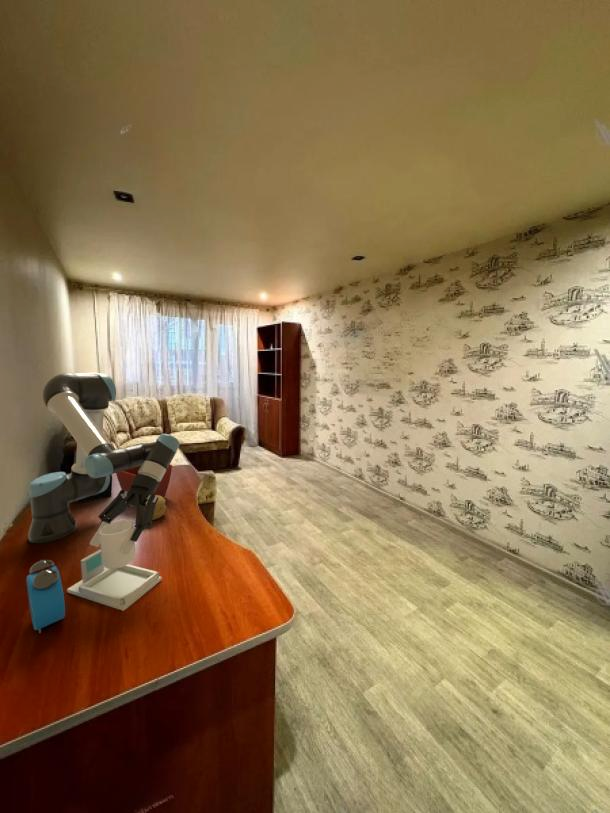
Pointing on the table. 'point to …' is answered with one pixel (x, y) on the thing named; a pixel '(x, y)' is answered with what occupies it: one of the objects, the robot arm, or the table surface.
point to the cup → (116, 544)
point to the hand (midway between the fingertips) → (108, 549)
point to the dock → (113, 582)
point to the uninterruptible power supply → (100, 495)
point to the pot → (159, 507)
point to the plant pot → (128, 475)
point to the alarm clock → (45, 594)
